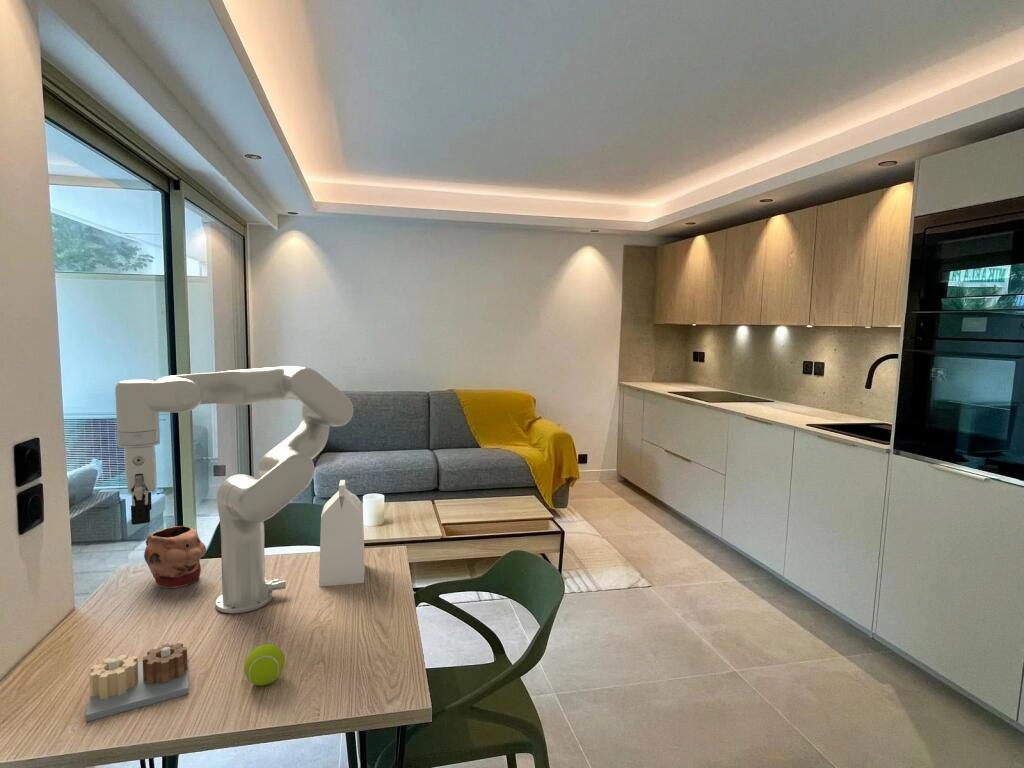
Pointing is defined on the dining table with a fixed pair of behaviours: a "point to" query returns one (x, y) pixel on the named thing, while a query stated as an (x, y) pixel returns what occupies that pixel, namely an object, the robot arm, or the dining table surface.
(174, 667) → the walnut gear
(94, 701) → the gear board
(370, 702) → the dining table surface
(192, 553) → the decorative planter
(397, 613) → the dining table surface
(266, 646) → the tennis ball
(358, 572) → the milk
